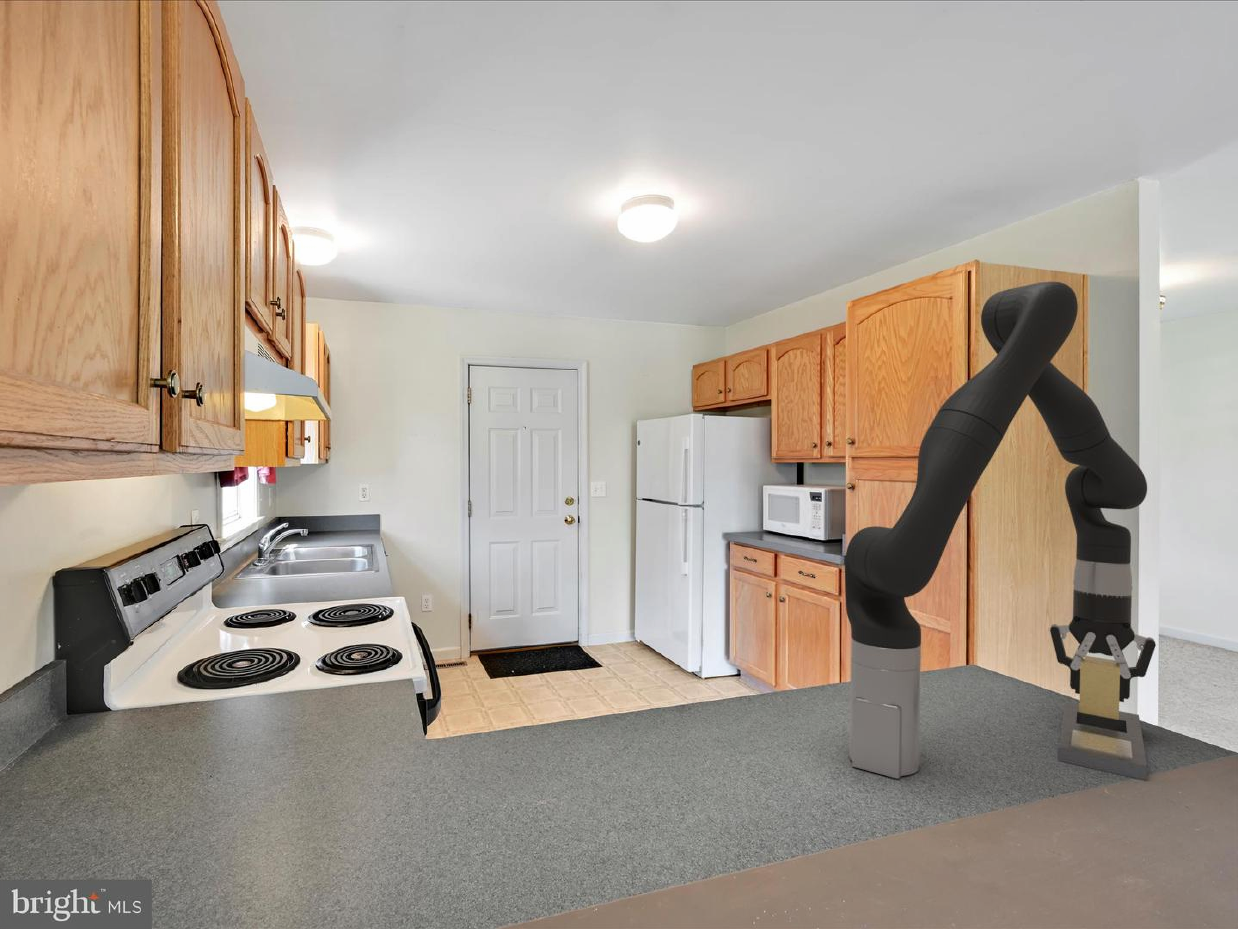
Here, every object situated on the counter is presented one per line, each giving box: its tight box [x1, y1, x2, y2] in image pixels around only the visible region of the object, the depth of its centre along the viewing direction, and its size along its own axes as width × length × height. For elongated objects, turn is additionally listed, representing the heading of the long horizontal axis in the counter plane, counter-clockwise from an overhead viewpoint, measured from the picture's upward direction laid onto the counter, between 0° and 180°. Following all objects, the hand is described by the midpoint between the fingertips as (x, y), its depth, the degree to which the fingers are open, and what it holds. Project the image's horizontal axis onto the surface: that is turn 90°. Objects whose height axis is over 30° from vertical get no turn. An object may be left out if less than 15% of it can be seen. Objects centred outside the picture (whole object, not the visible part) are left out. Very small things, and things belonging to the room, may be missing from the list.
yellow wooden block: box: [1078, 655, 1120, 720], centre depth 106 cm, size 5×5×8 cm
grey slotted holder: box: [1057, 700, 1148, 782], centre depth 102 cm, size 24×10×2 cm, turn 144°
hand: (1099, 696), depth 106 cm, fingers closed on yellow wooden block, 5 cm apart
